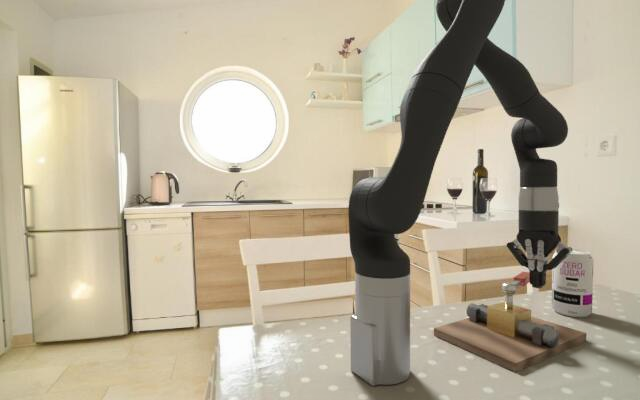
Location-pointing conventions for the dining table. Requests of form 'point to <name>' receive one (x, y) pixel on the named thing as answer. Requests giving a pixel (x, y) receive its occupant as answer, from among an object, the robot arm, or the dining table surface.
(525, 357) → the valve board
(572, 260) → the supplement can
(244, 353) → the dining table surface
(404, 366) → the robot arm
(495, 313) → the pipe valve
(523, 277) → the valve lever
